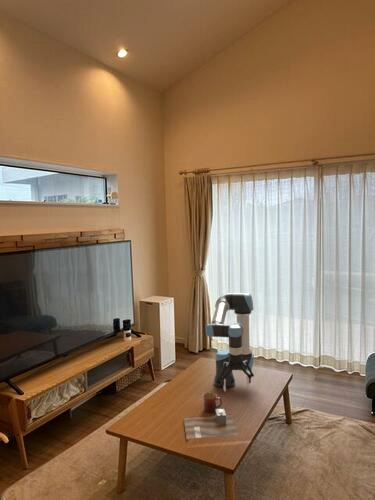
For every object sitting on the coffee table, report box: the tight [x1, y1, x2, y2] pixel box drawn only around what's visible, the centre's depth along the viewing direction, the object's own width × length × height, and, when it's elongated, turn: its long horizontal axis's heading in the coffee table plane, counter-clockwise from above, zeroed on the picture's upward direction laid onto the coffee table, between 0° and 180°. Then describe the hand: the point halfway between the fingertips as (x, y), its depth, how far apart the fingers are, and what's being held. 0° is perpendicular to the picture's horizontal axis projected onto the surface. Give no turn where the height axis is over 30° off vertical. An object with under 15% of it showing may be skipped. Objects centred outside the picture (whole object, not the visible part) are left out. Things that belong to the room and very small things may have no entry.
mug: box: [202, 391, 223, 414], centre depth 223 cm, size 12×9×10 cm
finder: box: [214, 408, 227, 424], centre depth 212 cm, size 7×5×5 cm
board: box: [183, 414, 239, 442], centre depth 208 cm, size 23×28×1 cm
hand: (236, 389), depth 211 cm, fingers open, 13 cm apart
